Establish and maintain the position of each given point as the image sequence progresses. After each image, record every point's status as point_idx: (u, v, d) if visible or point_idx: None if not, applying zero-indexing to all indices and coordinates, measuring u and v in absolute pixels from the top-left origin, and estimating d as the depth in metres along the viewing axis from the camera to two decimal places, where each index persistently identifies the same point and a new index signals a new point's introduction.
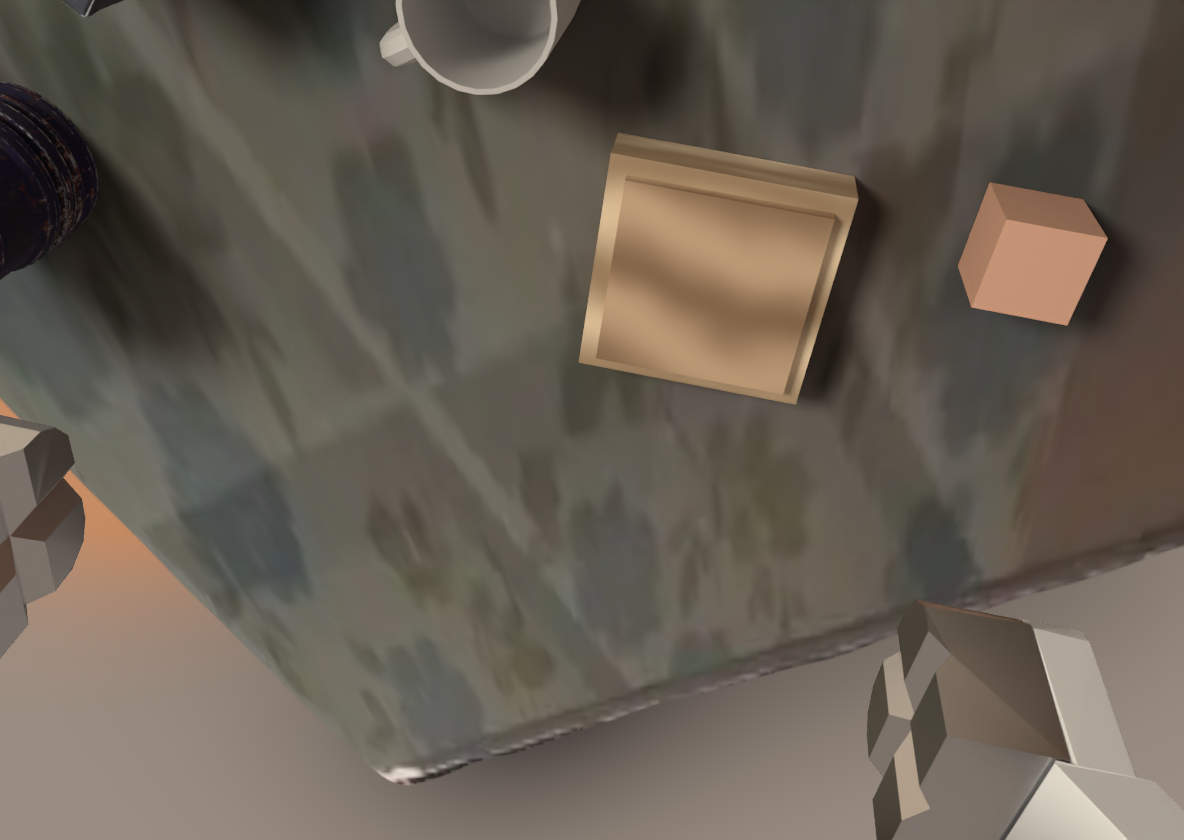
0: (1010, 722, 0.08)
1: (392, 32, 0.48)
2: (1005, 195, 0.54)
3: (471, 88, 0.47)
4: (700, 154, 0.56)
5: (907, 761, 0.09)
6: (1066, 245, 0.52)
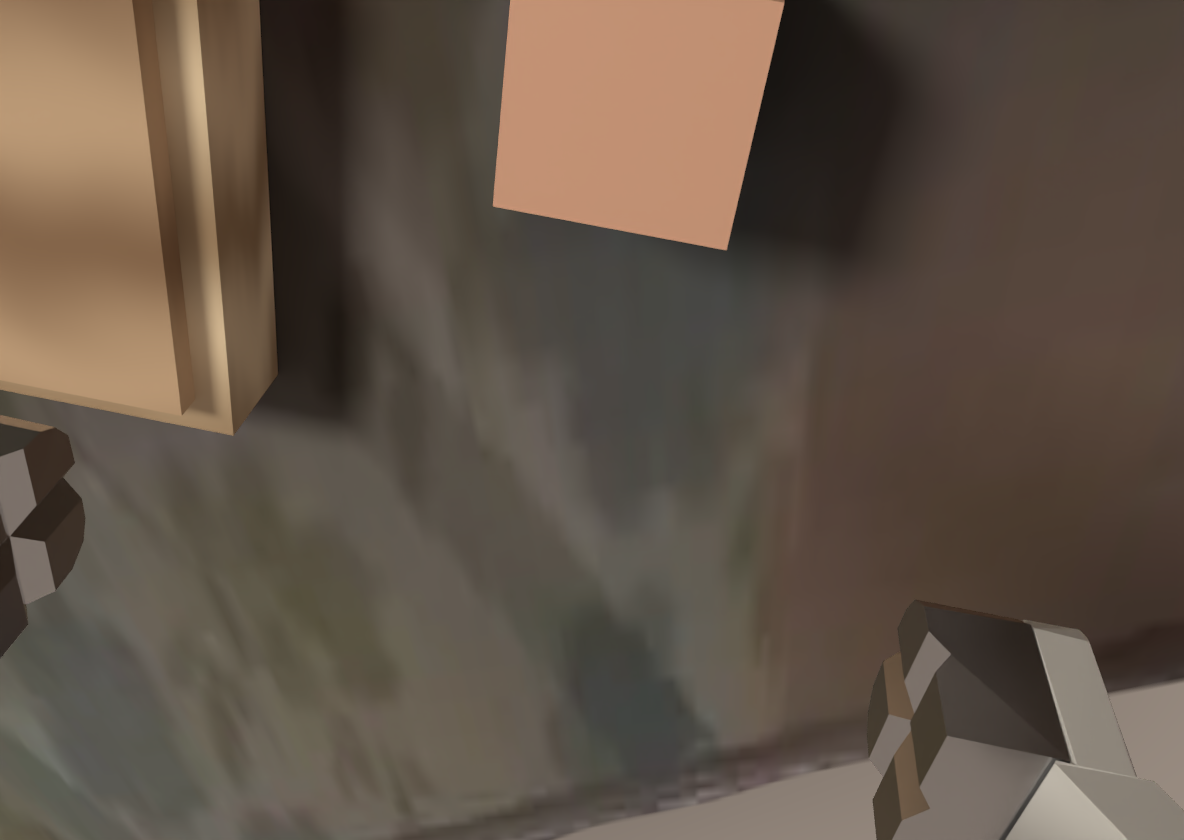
0: (1010, 722, 0.08)
1: None
2: None
3: None
4: None
5: (907, 761, 0.09)
6: (682, 28, 0.19)
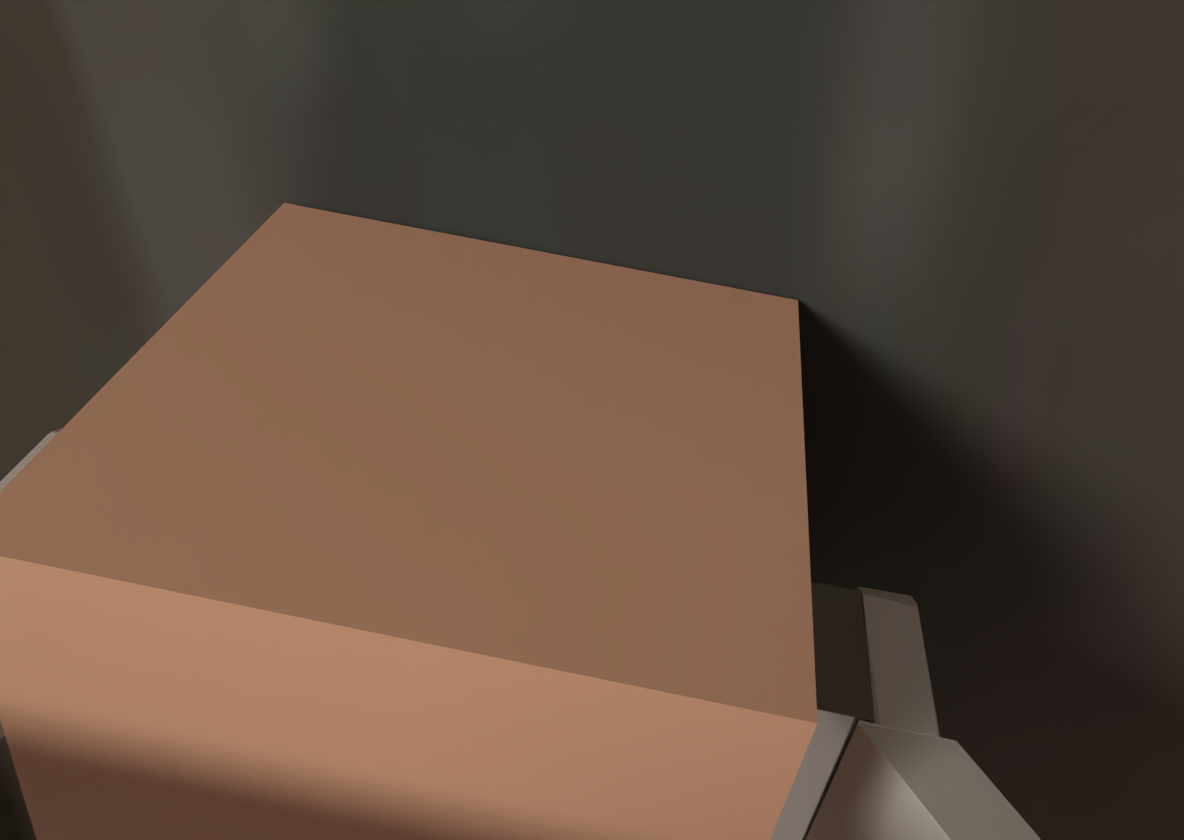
0: (820, 683, 0.08)
1: None
2: (272, 292, 0.09)
3: None
4: None
5: None
6: (496, 745, 0.06)
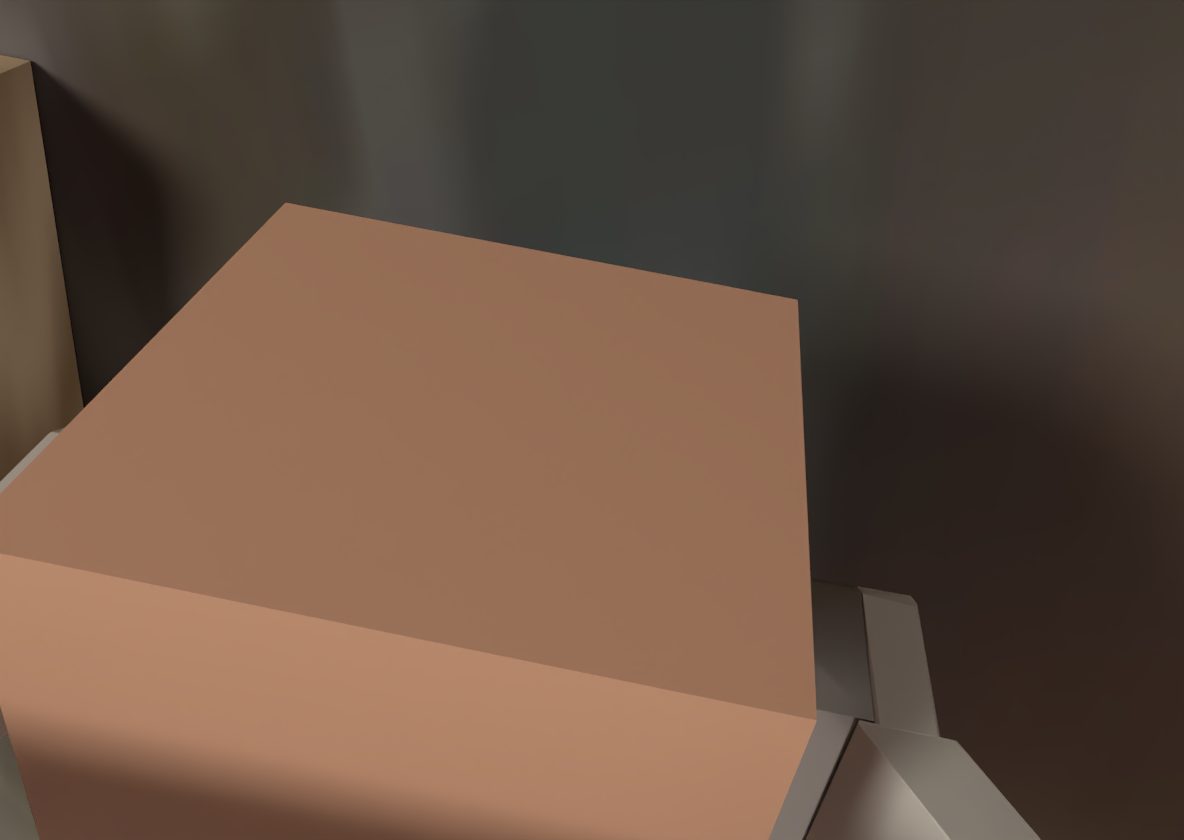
0: (820, 683, 0.08)
1: None
2: (274, 291, 0.09)
3: None
4: None
5: None
6: (498, 741, 0.06)
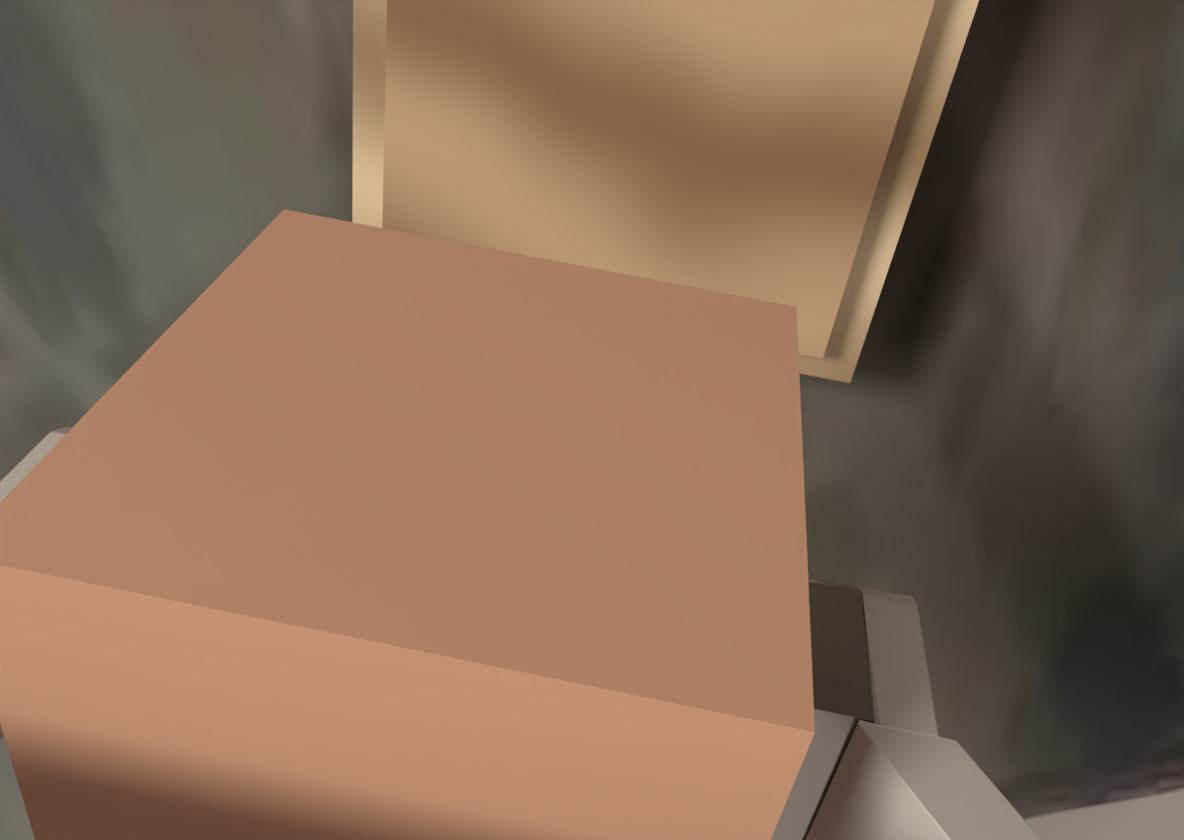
0: (820, 683, 0.08)
1: None
2: (273, 299, 0.09)
3: None
4: None
5: None
6: (497, 752, 0.06)
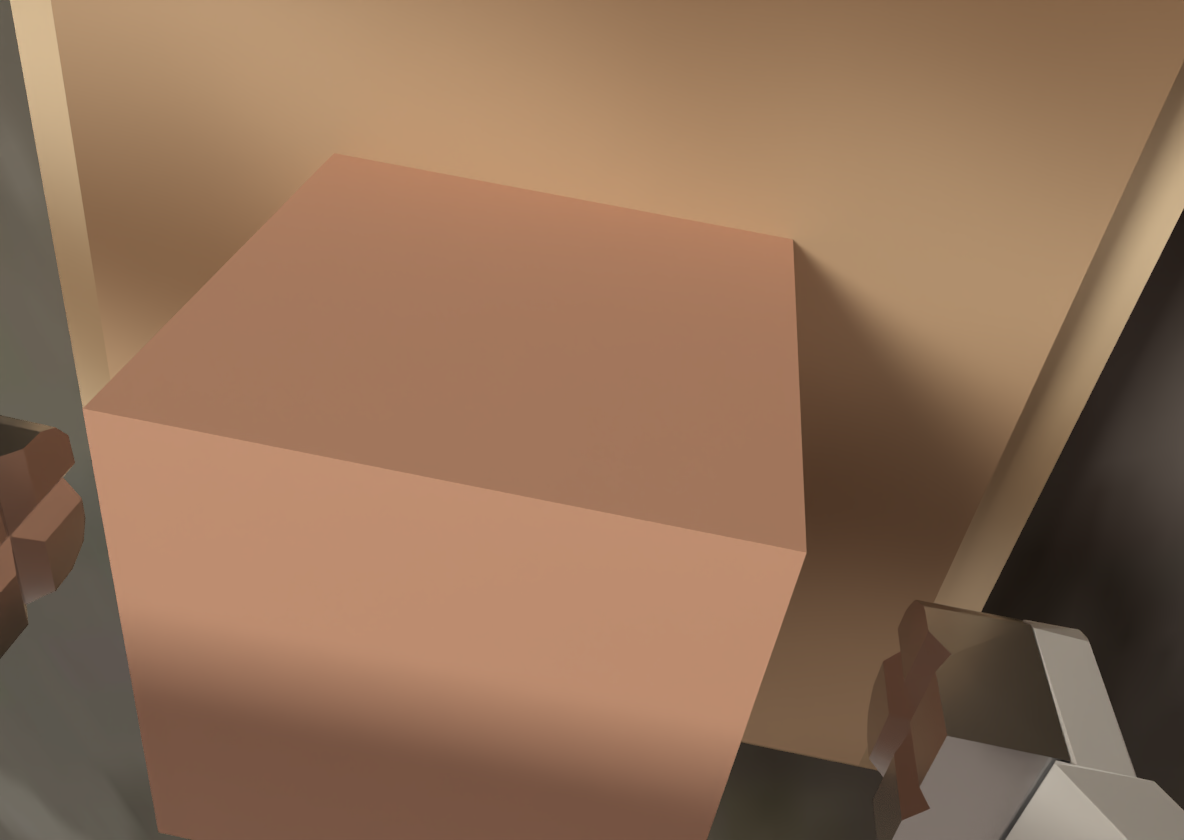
0: (1010, 722, 0.08)
1: None
2: (331, 224, 0.10)
3: None
4: None
5: (907, 761, 0.09)
6: (538, 581, 0.07)
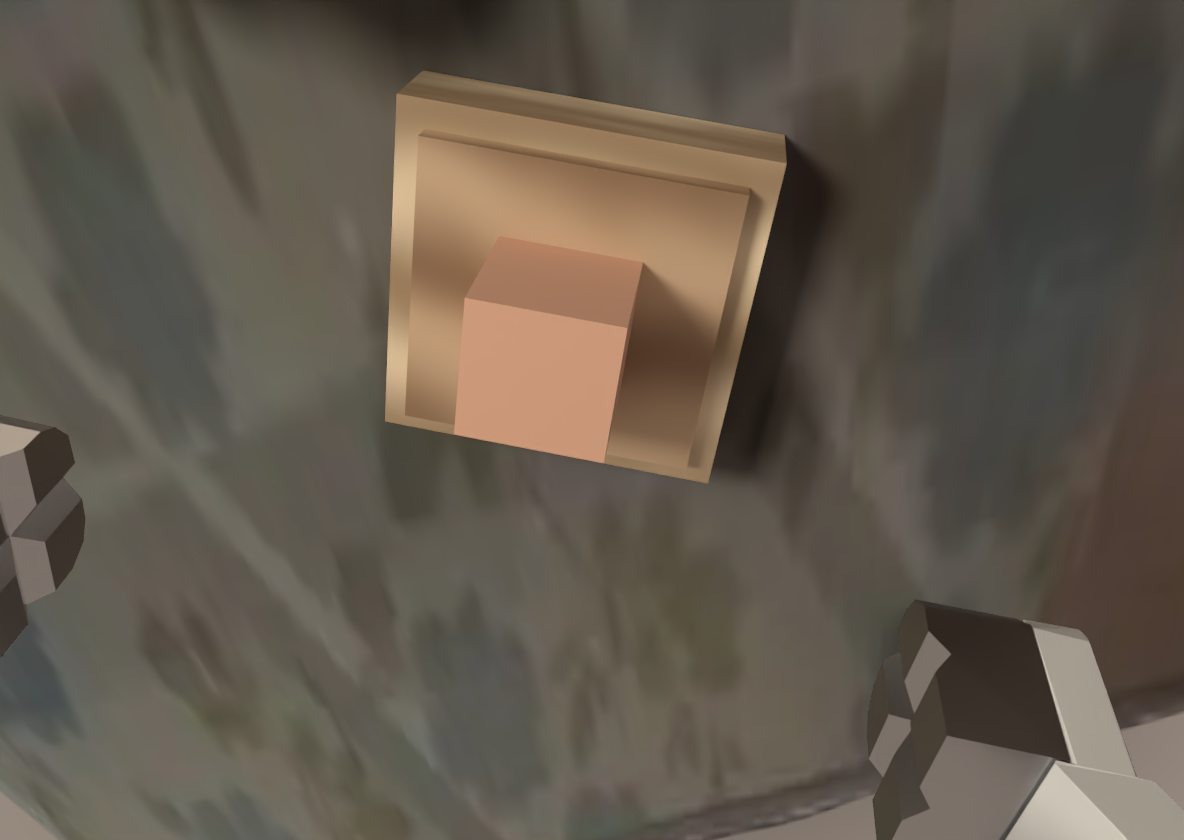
0: (1010, 722, 0.08)
1: None
2: (505, 257, 0.34)
3: None
4: (544, 101, 0.36)
5: (907, 761, 0.09)
6: (567, 339, 0.32)
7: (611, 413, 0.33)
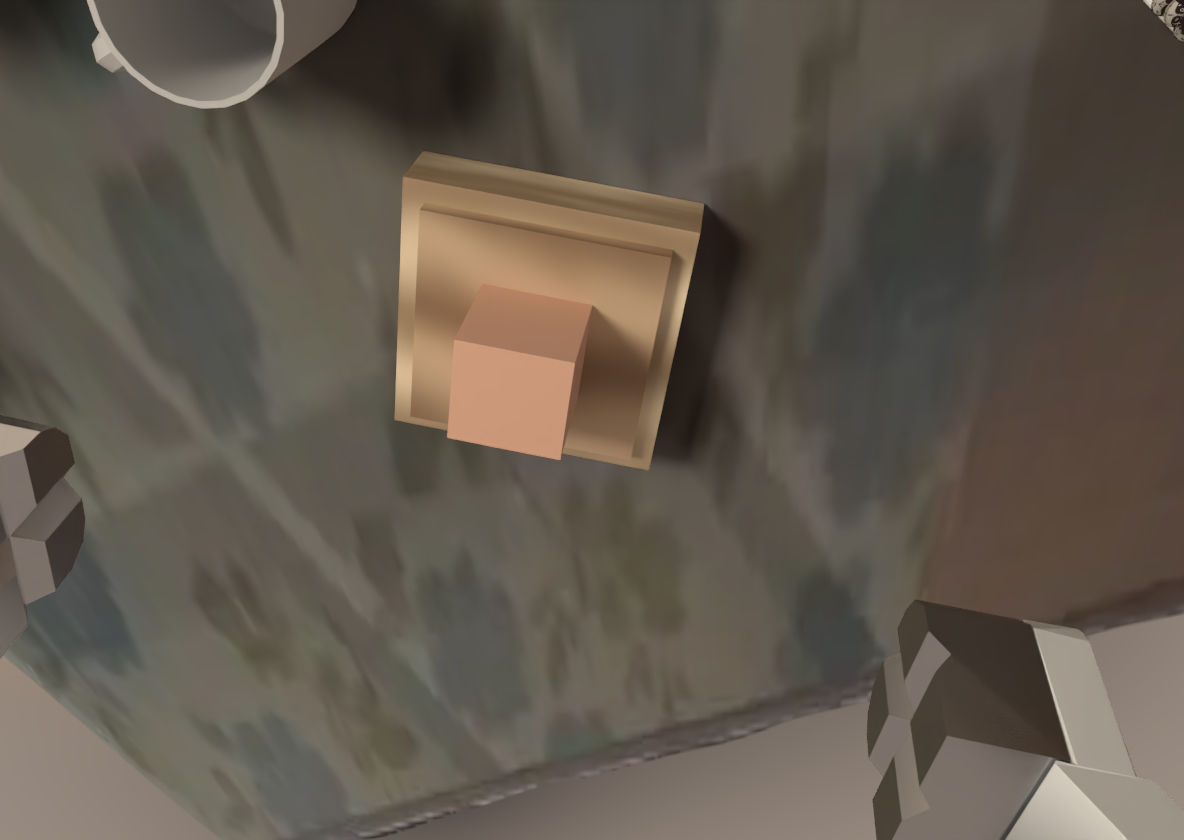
0: (1010, 722, 0.08)
1: None
2: (486, 303, 0.45)
3: (193, 100, 0.38)
4: (517, 178, 0.46)
5: (907, 761, 0.09)
6: (531, 370, 0.42)
7: (564, 424, 0.44)
